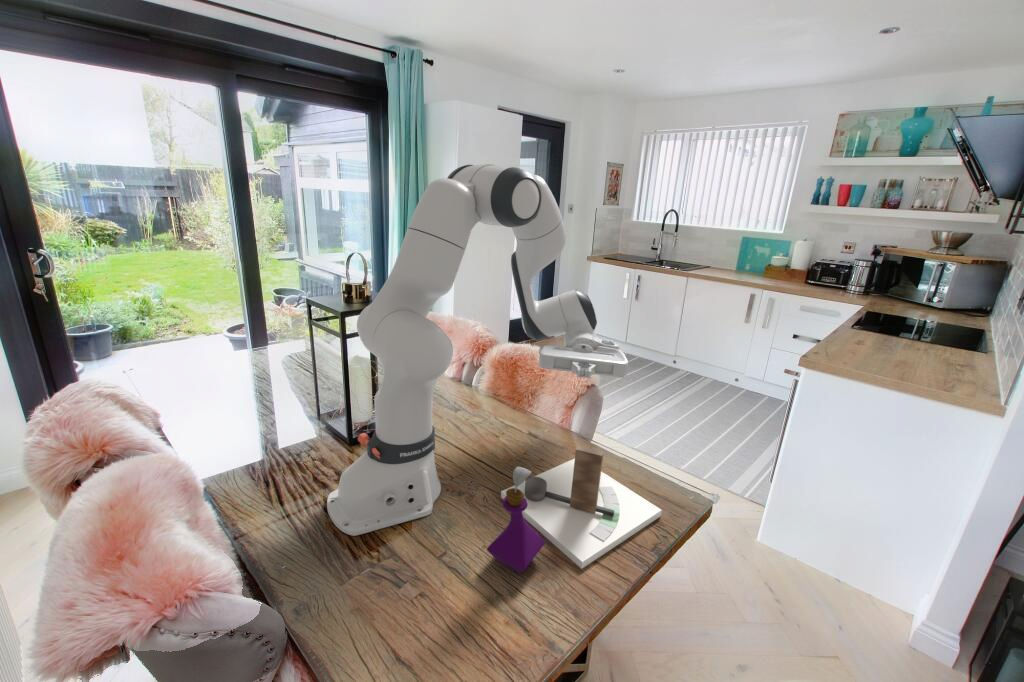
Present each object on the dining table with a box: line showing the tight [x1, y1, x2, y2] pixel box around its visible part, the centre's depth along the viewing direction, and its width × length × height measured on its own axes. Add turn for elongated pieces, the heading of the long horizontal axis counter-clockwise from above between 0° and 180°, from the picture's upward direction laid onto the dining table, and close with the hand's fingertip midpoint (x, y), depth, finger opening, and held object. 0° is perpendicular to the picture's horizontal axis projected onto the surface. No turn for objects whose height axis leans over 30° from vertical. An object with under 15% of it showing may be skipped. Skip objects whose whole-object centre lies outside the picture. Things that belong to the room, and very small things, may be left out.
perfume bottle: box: [486, 466, 547, 574], centre depth 75 cm, size 8×8×18 cm
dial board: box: [500, 457, 663, 570], centre depth 92 cm, size 23×23×2 cm
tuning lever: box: [525, 445, 614, 516], centre depth 88 cm, size 18×4×13 cm, turn 69°
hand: (584, 374), depth 97 cm, fingers closed
